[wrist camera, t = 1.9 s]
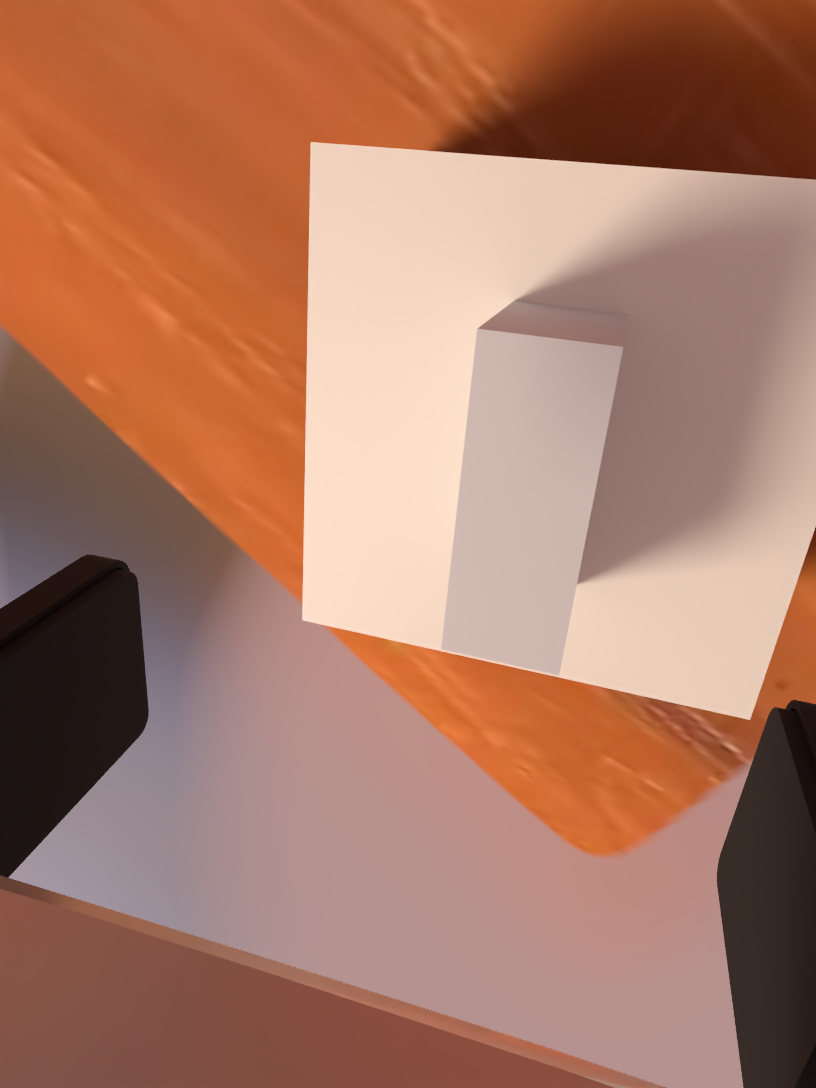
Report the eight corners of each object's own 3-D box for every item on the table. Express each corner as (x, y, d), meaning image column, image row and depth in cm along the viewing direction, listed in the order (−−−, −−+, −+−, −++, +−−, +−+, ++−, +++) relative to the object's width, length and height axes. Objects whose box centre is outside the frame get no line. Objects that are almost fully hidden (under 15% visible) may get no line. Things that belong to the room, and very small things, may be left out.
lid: (916, 188, 18) (1031, 183, 12) (746, 700, 24) (774, 840, 19) (324, 144, 21) (216, 125, 16) (313, 606, 27) (234, 703, 22)
